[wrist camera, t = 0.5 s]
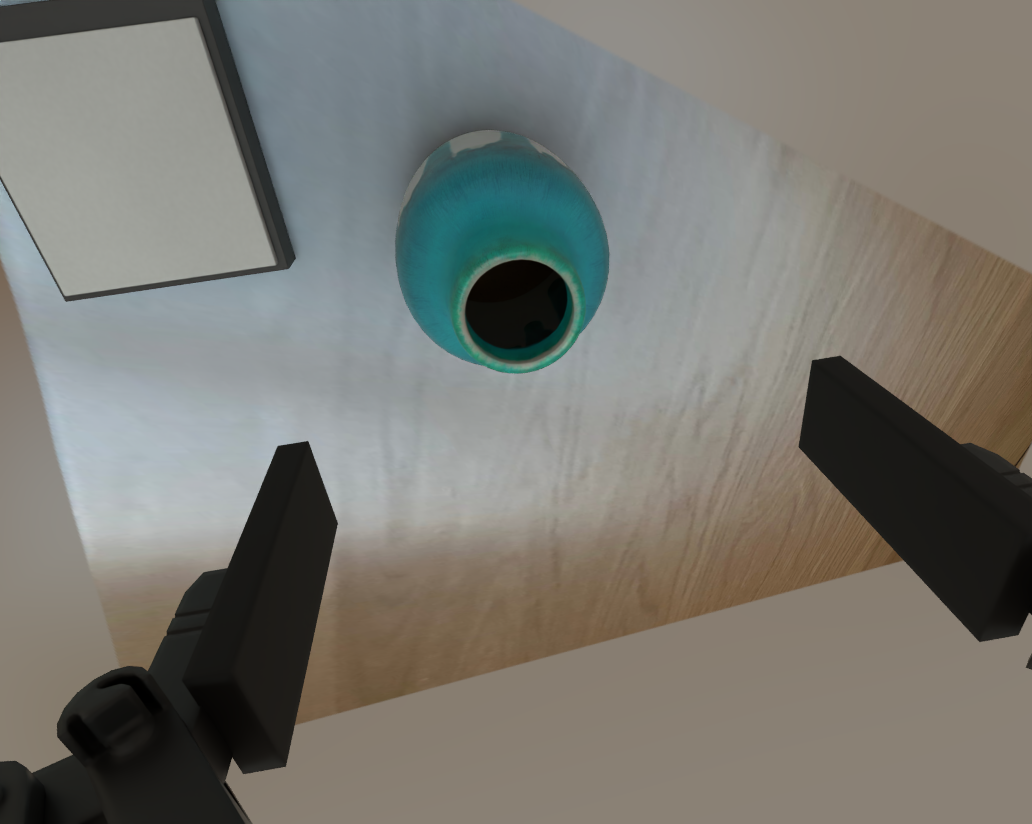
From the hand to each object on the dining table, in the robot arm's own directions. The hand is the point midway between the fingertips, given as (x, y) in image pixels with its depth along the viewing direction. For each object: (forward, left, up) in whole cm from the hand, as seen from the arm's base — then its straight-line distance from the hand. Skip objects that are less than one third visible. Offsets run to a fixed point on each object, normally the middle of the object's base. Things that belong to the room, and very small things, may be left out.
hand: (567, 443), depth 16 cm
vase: (0, 0, -28) cm, 28 cm away
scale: (-6, -20, -28) cm, 35 cm away
